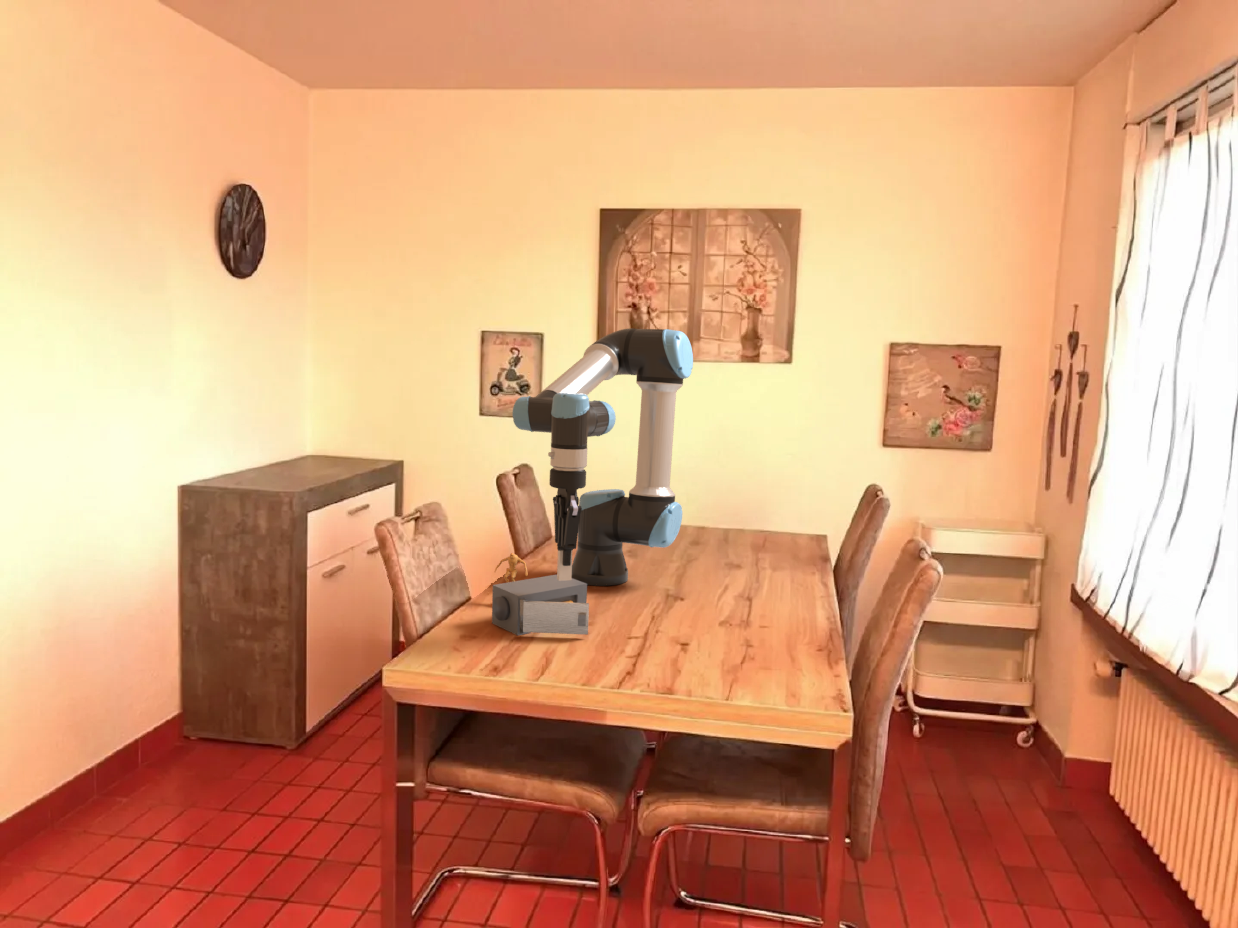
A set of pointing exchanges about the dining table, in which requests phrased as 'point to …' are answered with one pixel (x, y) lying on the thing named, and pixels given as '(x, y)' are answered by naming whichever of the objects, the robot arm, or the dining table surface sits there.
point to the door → (553, 617)
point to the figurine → (512, 566)
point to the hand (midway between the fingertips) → (564, 579)
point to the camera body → (532, 597)
